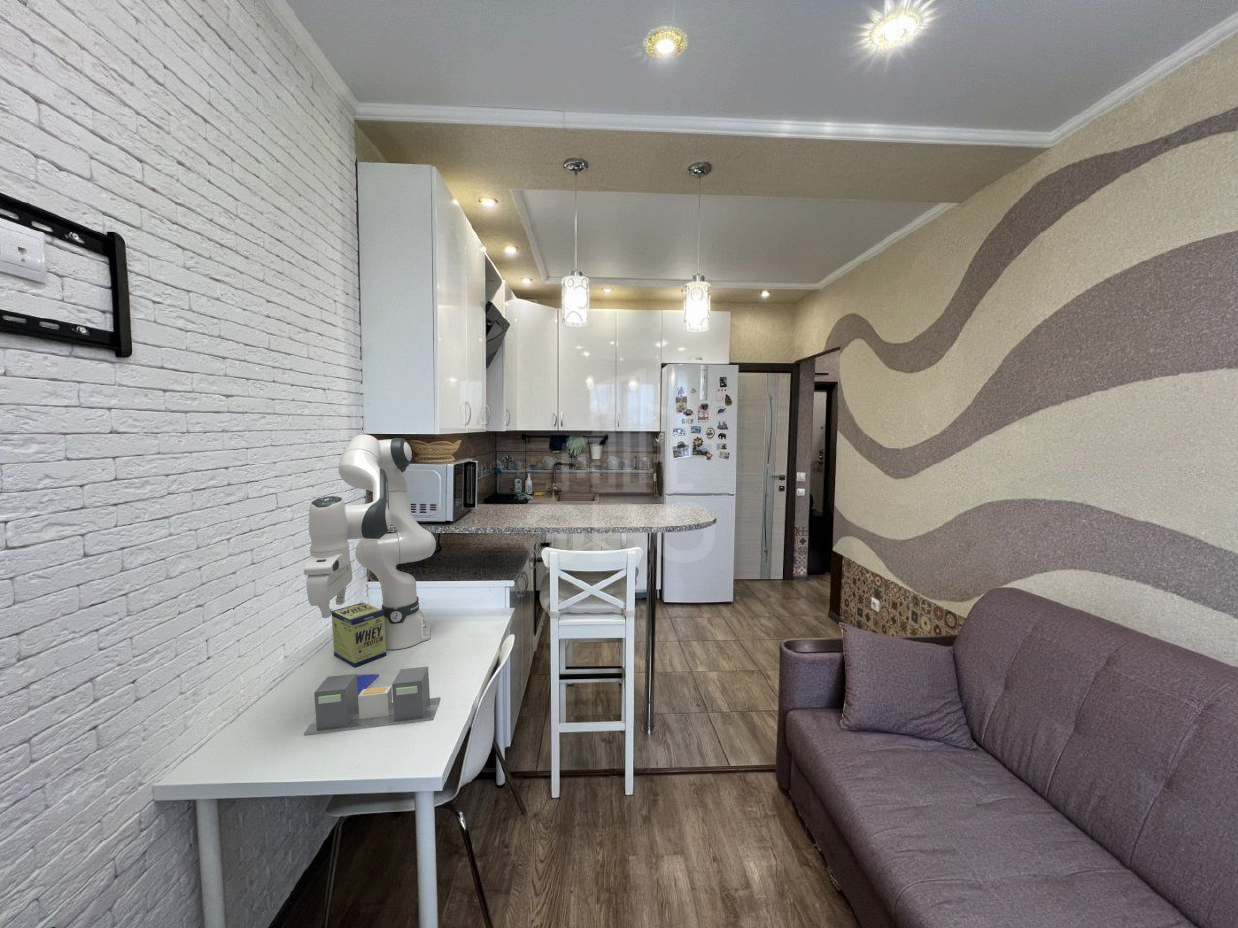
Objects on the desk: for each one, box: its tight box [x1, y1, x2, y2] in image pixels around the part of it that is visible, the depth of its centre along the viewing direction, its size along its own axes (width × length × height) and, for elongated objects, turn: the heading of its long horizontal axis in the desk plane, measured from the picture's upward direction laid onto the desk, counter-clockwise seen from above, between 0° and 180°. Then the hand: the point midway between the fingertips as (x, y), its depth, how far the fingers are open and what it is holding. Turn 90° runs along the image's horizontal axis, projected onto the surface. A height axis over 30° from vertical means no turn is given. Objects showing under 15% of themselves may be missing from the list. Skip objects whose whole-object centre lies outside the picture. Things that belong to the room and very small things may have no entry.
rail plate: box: [303, 696, 441, 736], centre depth 127 cm, size 10×30×1 cm, turn 100°
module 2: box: [391, 666, 431, 720], centre depth 128 cm, size 8×7×10 cm
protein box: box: [331, 602, 387, 668], centre depth 163 cm, size 10×16×16 cm
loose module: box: [358, 685, 393, 719], centre depth 127 cm, size 4×7×6 cm, turn 100°
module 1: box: [313, 673, 359, 729], centre depth 125 cm, size 8×7×10 cm
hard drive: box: [357, 673, 380, 696], centre depth 142 cm, size 2×8×12 cm
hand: (333, 610), depth 130 cm, fingers open, 8 cm apart
